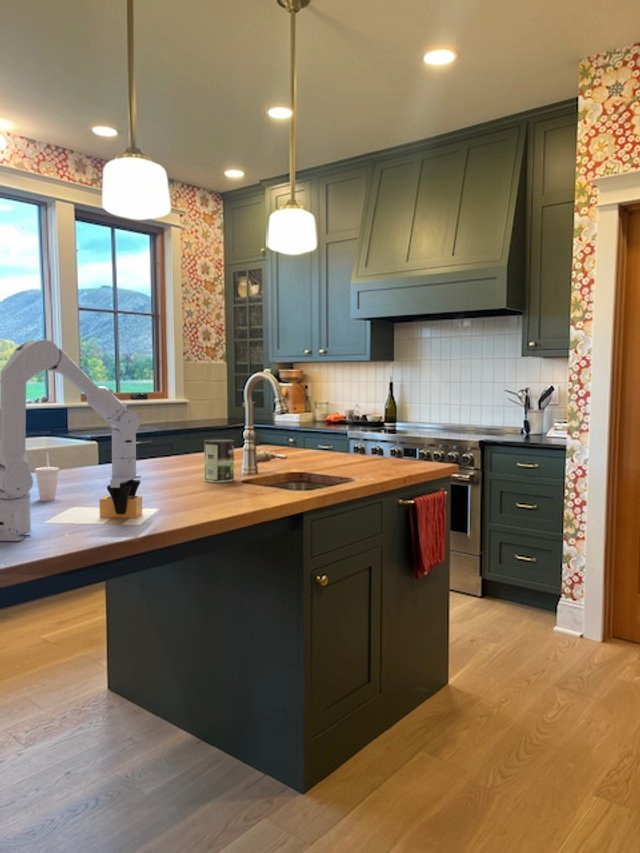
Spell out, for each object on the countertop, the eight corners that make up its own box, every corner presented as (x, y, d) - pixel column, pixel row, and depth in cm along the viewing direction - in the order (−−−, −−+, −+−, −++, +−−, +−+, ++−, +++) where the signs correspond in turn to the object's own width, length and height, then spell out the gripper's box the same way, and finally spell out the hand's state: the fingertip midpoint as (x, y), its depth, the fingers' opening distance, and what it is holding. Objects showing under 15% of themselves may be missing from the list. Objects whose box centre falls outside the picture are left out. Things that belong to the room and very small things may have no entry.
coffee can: (236, 478, 224) (236, 439, 223) (231, 483, 213) (231, 441, 212) (207, 477, 224) (207, 438, 223) (201, 482, 214) (201, 441, 213)
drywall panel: (139, 528, 148) (139, 524, 148) (42, 527, 148) (42, 522, 148) (159, 512, 166) (159, 508, 166) (72, 510, 166) (72, 507, 166)
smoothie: (63, 500, 179) (62, 451, 178) (54, 505, 173) (54, 454, 172) (40, 500, 179) (39, 451, 178) (31, 504, 173) (30, 454, 172)
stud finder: (136, 517, 154) (136, 498, 154) (99, 517, 154) (99, 498, 154) (142, 513, 159) (142, 495, 159) (106, 512, 159) (106, 494, 159)
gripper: (131, 461, 148) (131, 518, 150) (148, 454, 163) (148, 505, 164) (101, 461, 148) (101, 517, 150) (121, 453, 163) (121, 505, 164)
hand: (124, 511), depth 157 cm, fingers closed on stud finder, 5 cm apart
